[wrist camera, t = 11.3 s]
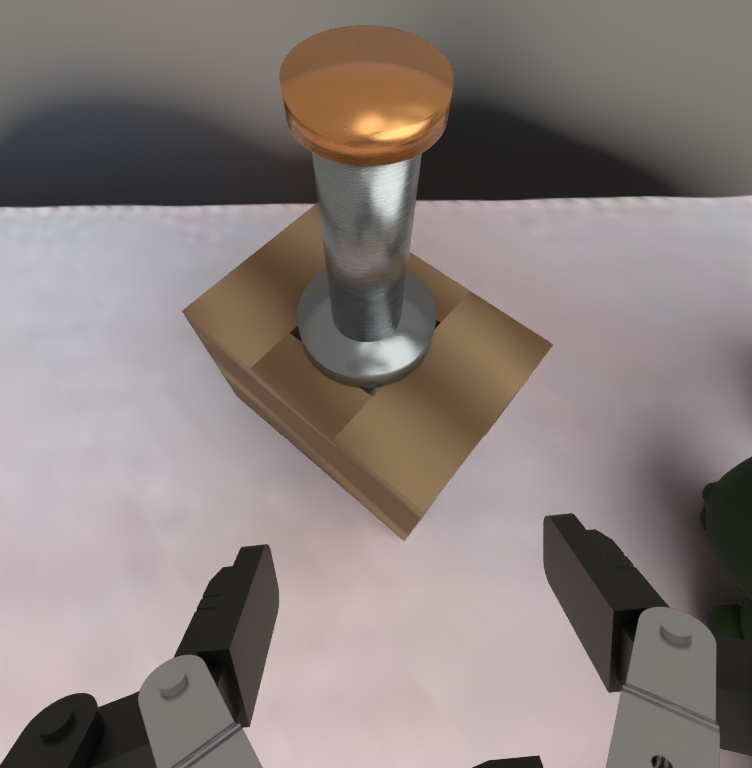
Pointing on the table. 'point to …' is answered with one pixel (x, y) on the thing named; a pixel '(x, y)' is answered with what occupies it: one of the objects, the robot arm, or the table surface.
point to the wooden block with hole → (353, 405)
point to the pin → (366, 194)
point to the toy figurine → (731, 545)
